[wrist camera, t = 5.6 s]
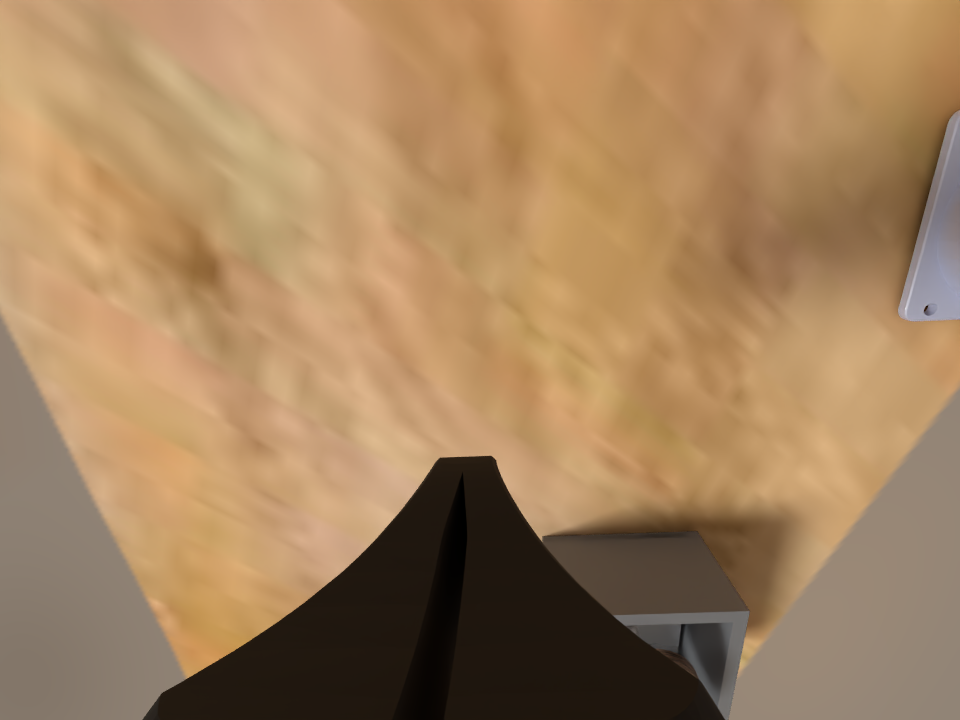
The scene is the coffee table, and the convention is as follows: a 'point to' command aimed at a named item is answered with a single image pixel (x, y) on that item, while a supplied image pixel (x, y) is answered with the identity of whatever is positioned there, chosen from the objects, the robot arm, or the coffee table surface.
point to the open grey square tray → (665, 595)
